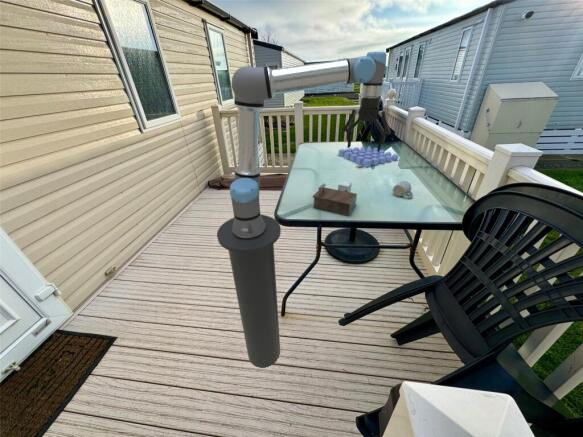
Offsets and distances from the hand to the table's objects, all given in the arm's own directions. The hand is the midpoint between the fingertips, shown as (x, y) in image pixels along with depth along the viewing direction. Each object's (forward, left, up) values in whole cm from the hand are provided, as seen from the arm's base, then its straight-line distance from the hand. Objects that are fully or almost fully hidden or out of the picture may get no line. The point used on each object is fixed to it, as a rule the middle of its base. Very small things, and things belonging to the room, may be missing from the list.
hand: (363, 148), depth 111 cm
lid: (-11, 0, -27) cm, 29 cm away
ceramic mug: (+20, +31, -33) cm, 49 cm away
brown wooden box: (-11, 0, -33) cm, 35 cm away
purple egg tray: (-15, +93, -33) cm, 100 cm away
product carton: (-11, +16, -33) cm, 38 cm away
